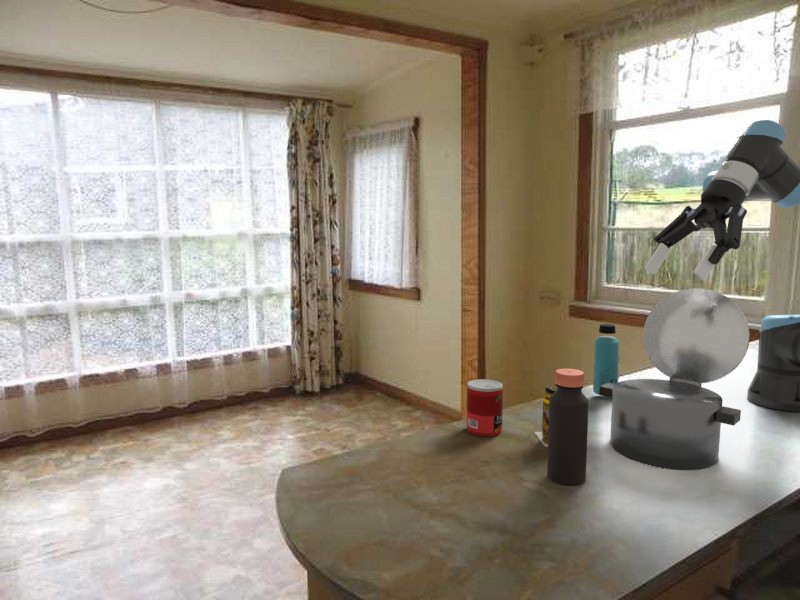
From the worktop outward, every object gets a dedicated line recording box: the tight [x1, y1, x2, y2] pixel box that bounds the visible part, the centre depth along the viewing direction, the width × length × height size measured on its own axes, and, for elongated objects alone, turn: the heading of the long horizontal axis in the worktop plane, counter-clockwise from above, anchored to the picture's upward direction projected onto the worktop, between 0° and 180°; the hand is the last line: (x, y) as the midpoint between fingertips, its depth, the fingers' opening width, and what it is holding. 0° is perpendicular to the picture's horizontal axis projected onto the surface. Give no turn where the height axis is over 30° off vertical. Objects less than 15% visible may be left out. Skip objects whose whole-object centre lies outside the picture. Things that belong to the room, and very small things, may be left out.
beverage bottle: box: [592, 323, 621, 395], centre depth 143 cm, size 6×7×20 cm
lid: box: [642, 287, 751, 387], centre depth 118 cm, size 22×21×3 cm
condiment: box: [533, 383, 557, 448], centre depth 116 cm, size 7×8×12 cm
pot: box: [598, 378, 742, 471], centre depth 111 cm, size 22×26×12 cm
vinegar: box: [546, 368, 590, 487], centre depth 97 cm, size 7×7×20 cm
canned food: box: [466, 378, 504, 438], centre depth 121 cm, size 8×8×11 cm
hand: (672, 273), depth 109 cm, fingers open, 13 cm apart
